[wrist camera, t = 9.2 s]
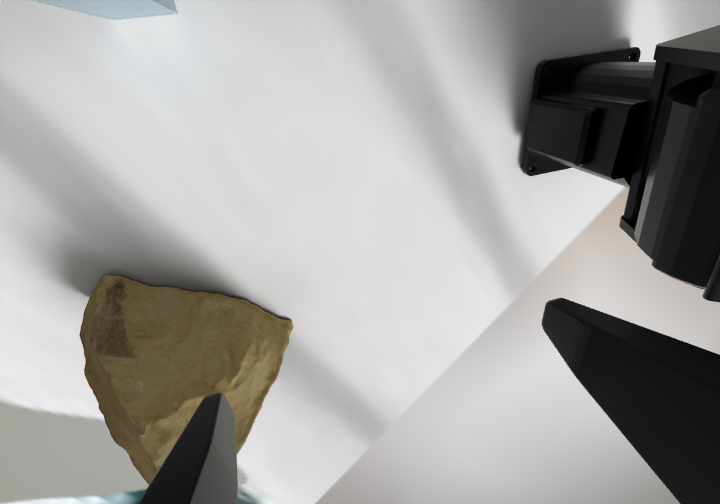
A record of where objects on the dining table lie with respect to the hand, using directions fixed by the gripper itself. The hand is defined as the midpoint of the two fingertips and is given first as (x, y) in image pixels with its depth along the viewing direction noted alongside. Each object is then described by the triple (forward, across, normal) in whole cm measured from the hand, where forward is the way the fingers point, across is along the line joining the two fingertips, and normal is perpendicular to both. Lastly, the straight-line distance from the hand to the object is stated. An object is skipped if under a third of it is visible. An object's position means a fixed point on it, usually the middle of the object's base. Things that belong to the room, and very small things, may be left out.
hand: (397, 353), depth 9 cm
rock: (+13, +9, +6) cm, 17 cm away
